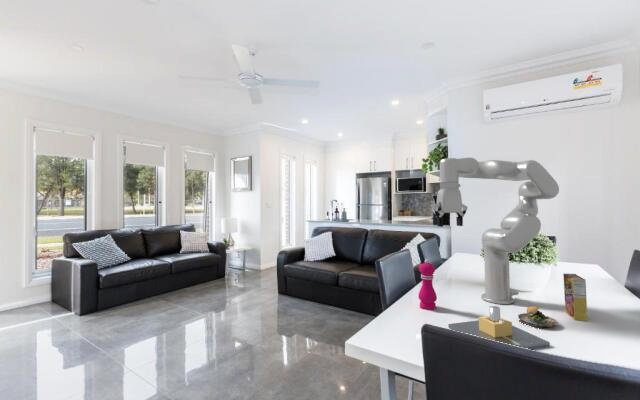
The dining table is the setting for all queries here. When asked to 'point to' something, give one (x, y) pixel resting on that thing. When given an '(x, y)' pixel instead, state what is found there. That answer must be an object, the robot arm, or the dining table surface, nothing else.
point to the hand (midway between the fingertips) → (450, 226)
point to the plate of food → (536, 318)
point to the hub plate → (517, 337)
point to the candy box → (575, 296)
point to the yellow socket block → (495, 327)
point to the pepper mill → (427, 287)
